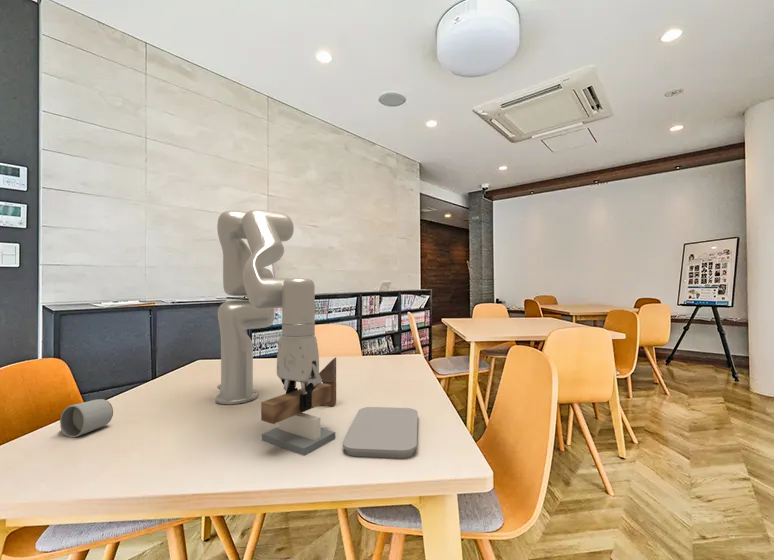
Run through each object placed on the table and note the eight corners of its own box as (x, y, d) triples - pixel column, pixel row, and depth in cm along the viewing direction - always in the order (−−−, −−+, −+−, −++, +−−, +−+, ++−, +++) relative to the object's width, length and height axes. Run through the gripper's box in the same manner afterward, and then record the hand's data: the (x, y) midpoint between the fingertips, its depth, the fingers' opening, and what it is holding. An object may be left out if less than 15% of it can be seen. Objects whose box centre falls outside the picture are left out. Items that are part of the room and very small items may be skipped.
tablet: (339, 458, 76) (339, 447, 76) (360, 414, 102) (360, 406, 102) (416, 461, 74) (416, 450, 74) (417, 416, 100) (417, 408, 100)
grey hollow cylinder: (116, 425, 94) (115, 396, 94) (83, 438, 86) (83, 406, 86) (83, 423, 96) (83, 394, 96) (48, 436, 88) (48, 404, 88)
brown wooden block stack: (333, 406, 107) (333, 346, 108) (298, 405, 109) (298, 346, 109) (336, 402, 111) (336, 344, 111) (303, 401, 112) (303, 344, 113)
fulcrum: (261, 440, 84) (261, 414, 84) (294, 426, 93) (294, 402, 93) (304, 455, 77) (304, 427, 77) (335, 438, 85) (335, 413, 85)
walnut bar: (273, 424, 76) (273, 405, 76) (261, 420, 78) (261, 401, 78) (330, 400, 91) (330, 384, 91) (319, 398, 93) (319, 382, 93)
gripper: (262, 330, 86) (262, 406, 86) (312, 334, 77) (313, 420, 77) (286, 327, 93) (286, 398, 92) (335, 331, 84) (336, 410, 83)
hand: (298, 407), depth 85 cm, fingers closed on walnut bar, 4 cm apart
